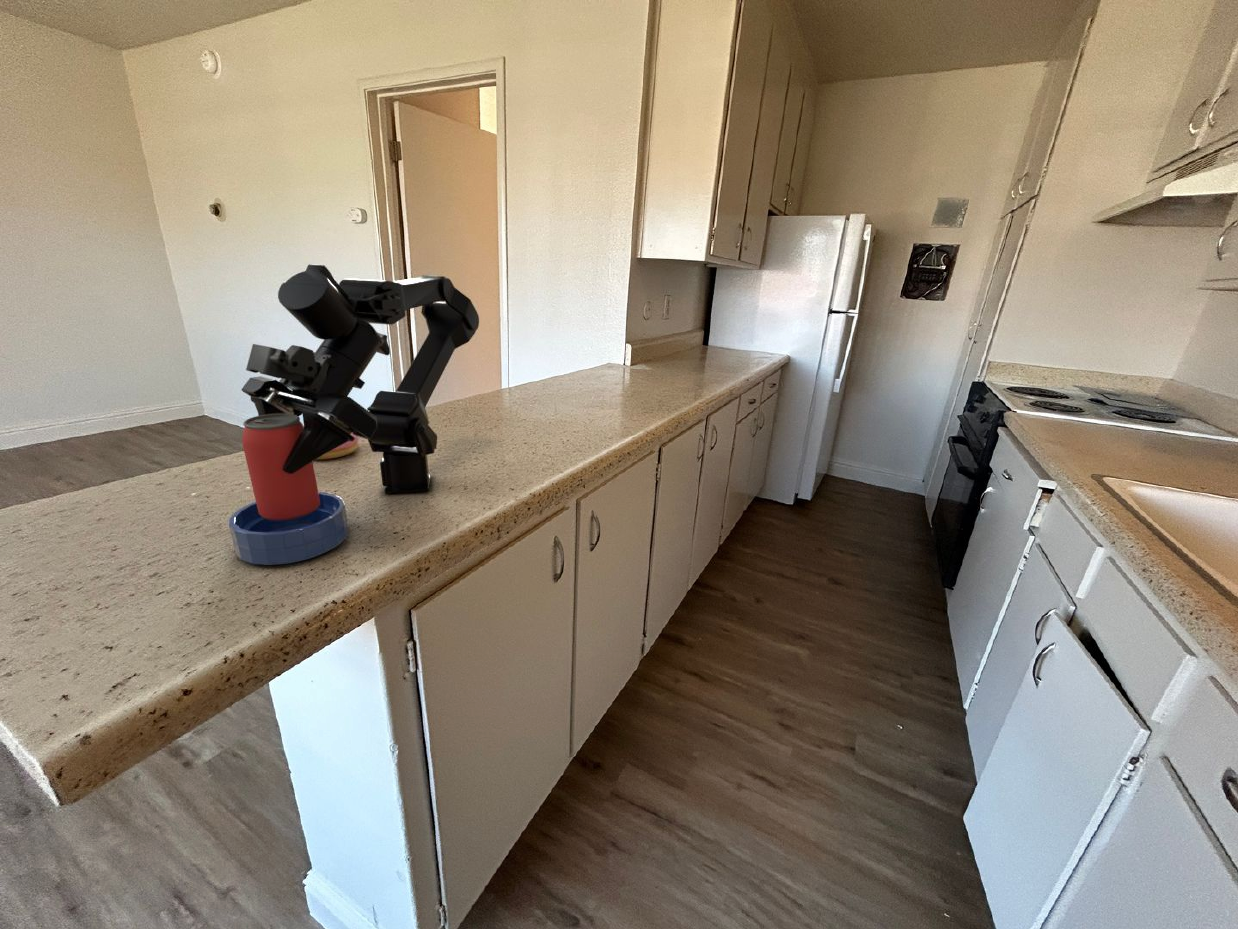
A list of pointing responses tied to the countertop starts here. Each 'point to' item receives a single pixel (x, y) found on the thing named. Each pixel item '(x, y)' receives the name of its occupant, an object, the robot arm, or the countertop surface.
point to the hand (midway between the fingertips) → (269, 466)
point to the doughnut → (342, 449)
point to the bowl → (289, 533)
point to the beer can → (278, 468)
